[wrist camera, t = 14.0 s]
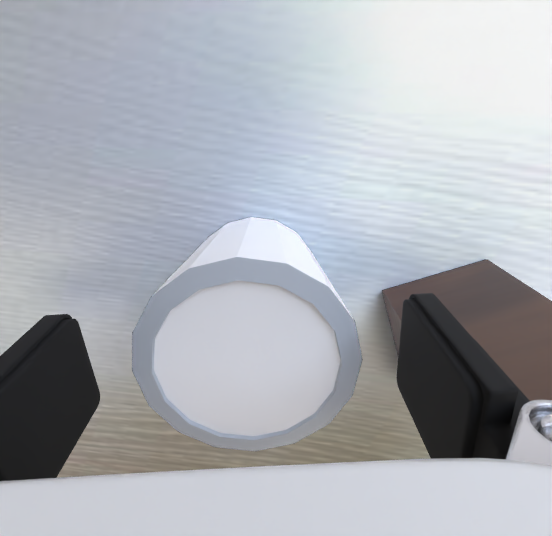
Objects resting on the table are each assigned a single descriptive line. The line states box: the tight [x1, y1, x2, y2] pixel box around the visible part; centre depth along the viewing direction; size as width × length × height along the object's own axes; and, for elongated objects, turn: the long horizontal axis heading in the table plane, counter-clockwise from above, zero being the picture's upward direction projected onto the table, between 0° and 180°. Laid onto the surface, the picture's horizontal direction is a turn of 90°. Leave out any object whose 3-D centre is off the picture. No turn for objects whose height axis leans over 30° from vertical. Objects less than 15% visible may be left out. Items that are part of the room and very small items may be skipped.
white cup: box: [132, 217, 362, 451], centre depth 14 cm, size 7×7×7 cm
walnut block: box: [382, 260, 552, 401], centre depth 14 cm, size 5×5×9 cm
